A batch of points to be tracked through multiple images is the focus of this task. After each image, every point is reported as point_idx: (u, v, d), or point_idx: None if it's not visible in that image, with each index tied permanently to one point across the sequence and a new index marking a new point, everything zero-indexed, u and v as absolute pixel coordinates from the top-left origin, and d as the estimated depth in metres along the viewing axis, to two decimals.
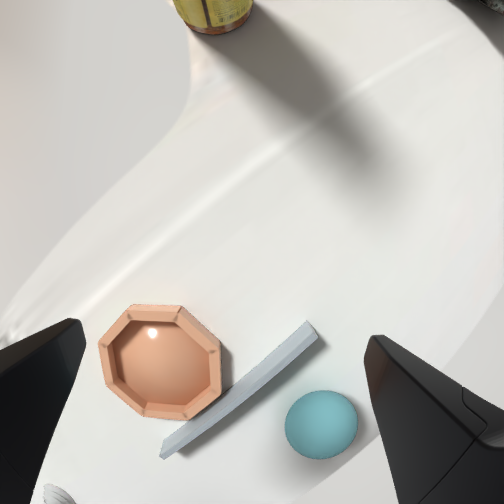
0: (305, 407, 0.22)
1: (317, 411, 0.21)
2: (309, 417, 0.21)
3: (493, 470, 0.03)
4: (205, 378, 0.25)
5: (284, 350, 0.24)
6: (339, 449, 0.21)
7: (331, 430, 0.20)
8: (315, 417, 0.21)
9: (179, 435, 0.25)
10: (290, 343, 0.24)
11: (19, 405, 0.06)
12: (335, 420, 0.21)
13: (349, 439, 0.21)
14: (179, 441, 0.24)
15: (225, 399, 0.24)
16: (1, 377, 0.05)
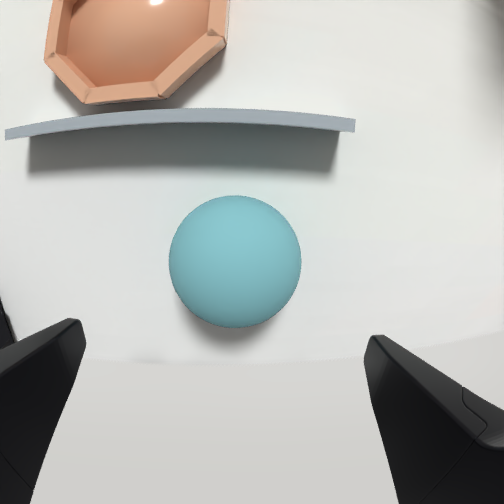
0: (250, 203, 0.13)
1: (264, 220, 0.13)
2: (246, 217, 0.12)
3: (493, 470, 0.03)
4: (159, 71, 0.14)
5: None
6: (237, 314, 0.13)
7: (261, 265, 0.12)
8: (256, 224, 0.12)
9: None
10: None
11: (19, 405, 0.05)
12: (277, 257, 0.12)
13: (263, 312, 0.13)
14: (44, 122, 0.13)
15: None
16: (1, 377, 0.05)
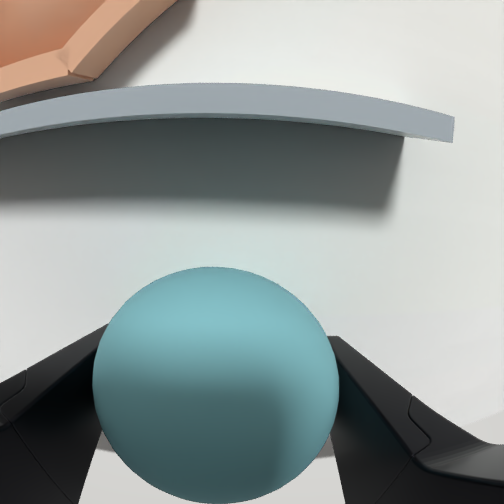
0: (241, 303, 0.06)
1: (274, 349, 0.05)
2: (232, 347, 0.05)
3: (429, 494, 0.03)
4: None
5: None
6: (219, 503, 0.05)
7: (264, 453, 0.05)
8: (253, 366, 0.05)
9: None
10: None
11: (66, 420, 0.06)
12: (299, 428, 0.05)
13: None
14: None
15: None
16: (48, 392, 0.05)
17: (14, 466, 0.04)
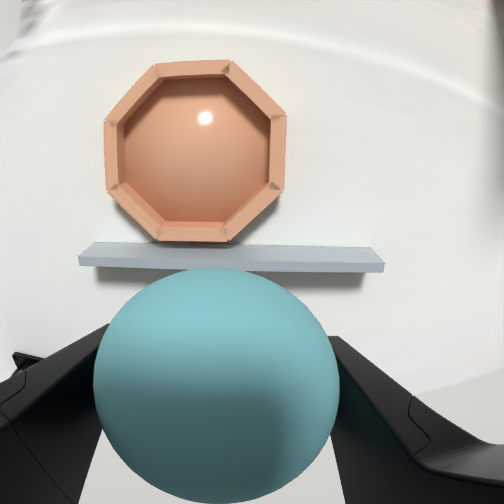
0: (242, 304, 0.06)
1: (274, 350, 0.05)
2: (232, 348, 0.05)
3: (429, 493, 0.03)
4: (223, 210, 0.19)
5: (337, 255, 0.19)
6: (219, 503, 0.05)
7: (265, 453, 0.05)
8: (254, 366, 0.05)
9: (125, 250, 0.18)
10: (346, 253, 0.19)
11: (66, 420, 0.06)
12: (300, 428, 0.05)
13: None
14: (122, 257, 0.17)
15: (224, 251, 0.19)
16: (48, 392, 0.05)
17: (14, 466, 0.04)
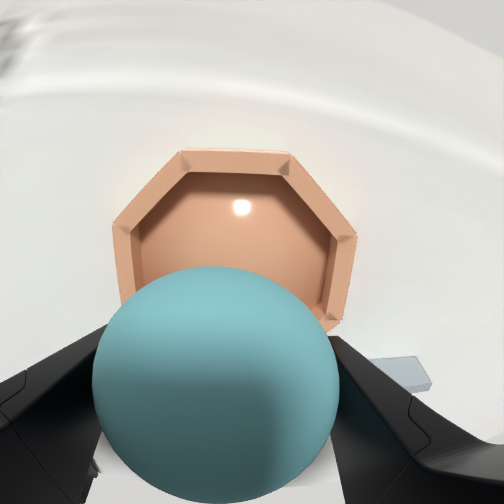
0: (241, 303, 0.06)
1: (274, 349, 0.05)
2: (231, 347, 0.05)
3: (429, 494, 0.03)
4: None
5: None
6: (218, 503, 0.05)
7: (264, 453, 0.05)
8: (253, 365, 0.05)
9: None
10: (394, 371, 0.16)
11: (66, 420, 0.06)
12: (299, 428, 0.05)
13: None
14: None
15: None
16: (48, 392, 0.05)
17: (14, 466, 0.04)
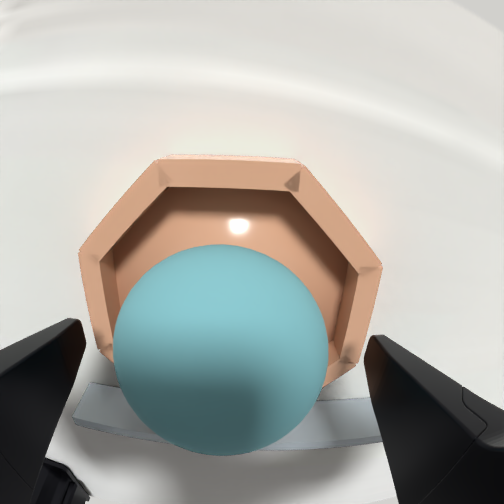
0: (244, 269, 0.07)
1: (271, 305, 0.07)
2: (236, 302, 0.06)
3: (493, 470, 0.03)
4: None
5: None
6: (223, 452, 0.07)
7: (264, 394, 0.06)
8: (254, 317, 0.06)
9: (133, 411, 0.13)
10: None
11: (19, 405, 0.05)
12: (293, 374, 0.06)
13: (266, 445, 0.07)
14: (131, 429, 0.12)
15: None
16: (1, 377, 0.05)
17: None
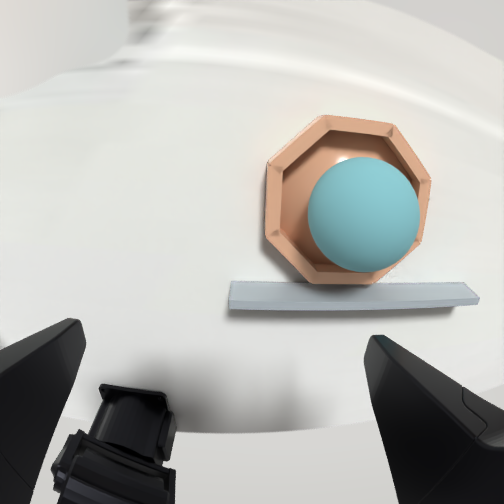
0: (385, 162, 0.14)
1: (400, 175, 0.14)
2: (389, 172, 0.14)
3: (493, 470, 0.03)
4: None
5: (446, 291, 0.20)
6: (385, 253, 0.14)
7: (406, 210, 0.13)
8: (397, 178, 0.14)
9: (275, 292, 0.20)
10: (452, 289, 0.20)
11: (19, 405, 0.05)
12: (414, 205, 0.14)
13: (401, 252, 0.14)
14: (280, 301, 0.19)
15: (366, 292, 0.20)
16: (1, 377, 0.05)
17: None
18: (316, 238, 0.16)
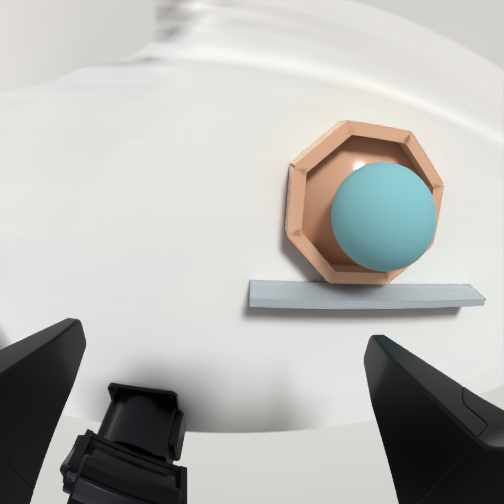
0: (405, 168, 0.15)
1: (420, 180, 0.15)
2: (410, 176, 0.14)
3: (493, 470, 0.03)
4: None
5: (454, 292, 0.21)
6: (407, 253, 0.14)
7: (427, 212, 0.14)
8: (418, 182, 0.14)
9: (294, 291, 0.20)
10: (459, 291, 0.21)
11: (19, 405, 0.05)
12: (432, 208, 0.14)
13: (420, 252, 0.15)
14: (299, 299, 0.19)
15: (380, 291, 0.21)
16: (1, 377, 0.05)
17: None
18: (341, 238, 0.16)
